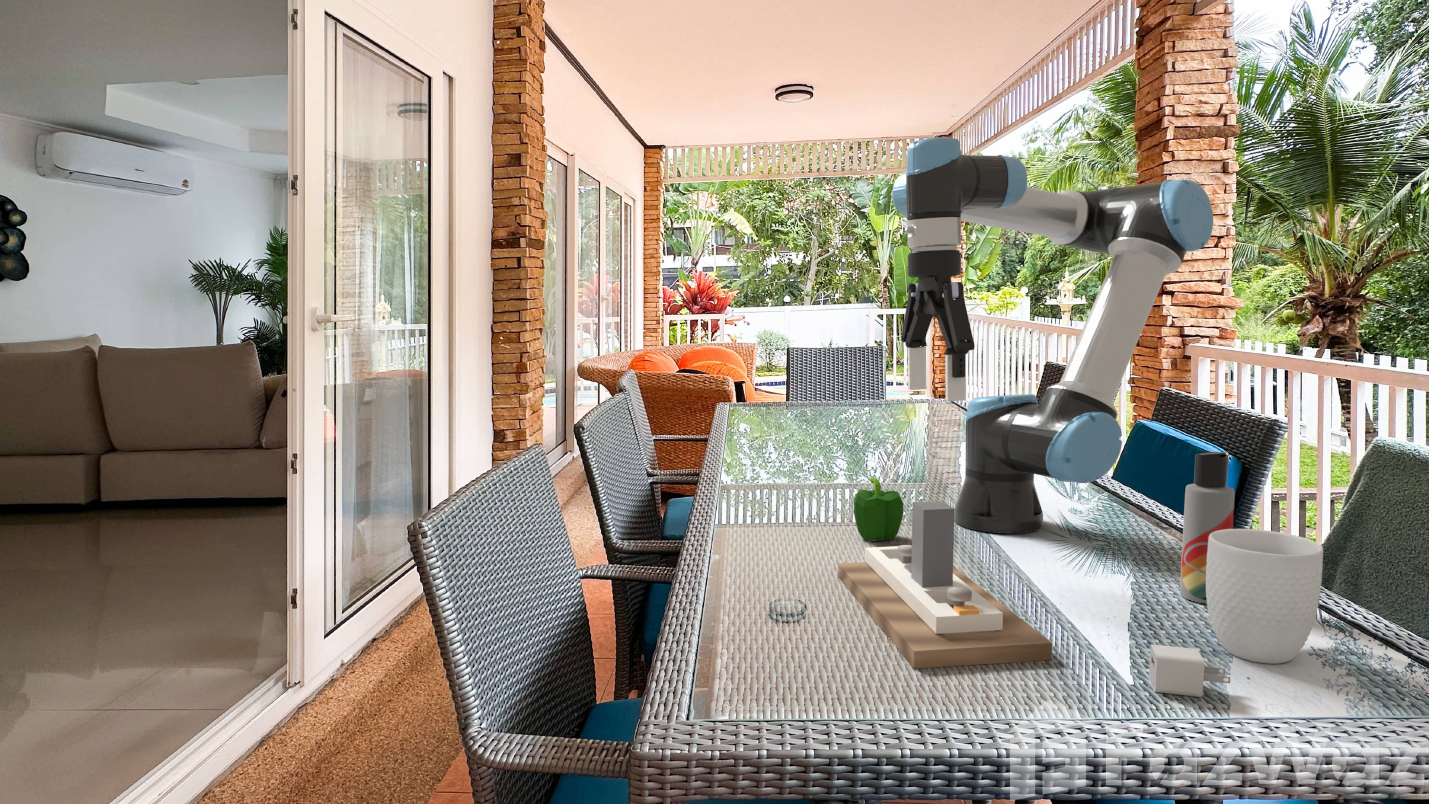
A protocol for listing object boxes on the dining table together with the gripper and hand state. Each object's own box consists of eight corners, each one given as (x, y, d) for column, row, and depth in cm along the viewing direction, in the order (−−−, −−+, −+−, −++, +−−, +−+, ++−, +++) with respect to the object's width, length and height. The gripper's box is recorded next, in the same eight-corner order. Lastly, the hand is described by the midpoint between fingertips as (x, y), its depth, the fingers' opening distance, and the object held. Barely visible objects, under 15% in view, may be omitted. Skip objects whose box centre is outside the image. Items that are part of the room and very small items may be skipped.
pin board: (837, 576, 128) (838, 536, 127) (943, 571, 129) (944, 532, 129) (913, 668, 96) (914, 615, 95) (1051, 659, 98) (1053, 608, 97)
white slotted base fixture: (864, 561, 128) (865, 480, 126) (917, 558, 129) (919, 478, 127) (935, 633, 100) (938, 531, 99) (1002, 629, 101) (1005, 528, 100)
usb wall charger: (1148, 678, 93) (1150, 642, 93) (1221, 686, 91) (1224, 649, 91) (1155, 694, 89) (1156, 656, 89) (1231, 703, 87) (1233, 665, 87)
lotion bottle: (1210, 608, 113) (1219, 456, 111) (1170, 595, 118) (1178, 449, 116) (1237, 600, 116) (1247, 452, 114) (1196, 588, 121) (1205, 446, 119)
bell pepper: (903, 546, 143) (904, 486, 142) (852, 543, 144) (852, 484, 143) (902, 532, 151) (903, 475, 150) (854, 530, 153) (855, 474, 151)
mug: (1260, 622, 108) (1267, 519, 107) (1357, 654, 99) (1367, 542, 97) (1180, 644, 102) (1186, 535, 100) (1275, 681, 92) (1284, 560, 90)
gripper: (878, 253, 138) (881, 386, 141) (946, 246, 114) (948, 407, 117) (923, 251, 139) (925, 383, 142) (1000, 244, 115) (1000, 403, 118)
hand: (935, 394), depth 129 cm, fingers open, 13 cm apart
